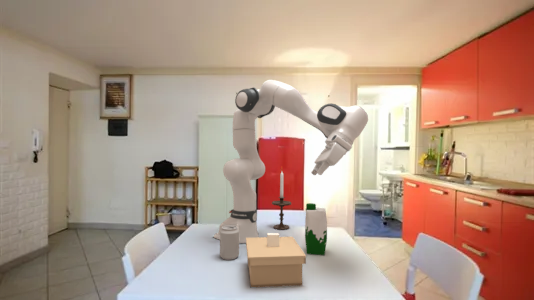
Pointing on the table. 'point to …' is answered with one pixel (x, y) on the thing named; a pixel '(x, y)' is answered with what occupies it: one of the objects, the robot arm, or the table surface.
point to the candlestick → (281, 205)
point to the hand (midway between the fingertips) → (315, 174)
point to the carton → (275, 275)
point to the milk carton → (315, 229)
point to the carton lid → (274, 251)
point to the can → (229, 242)
